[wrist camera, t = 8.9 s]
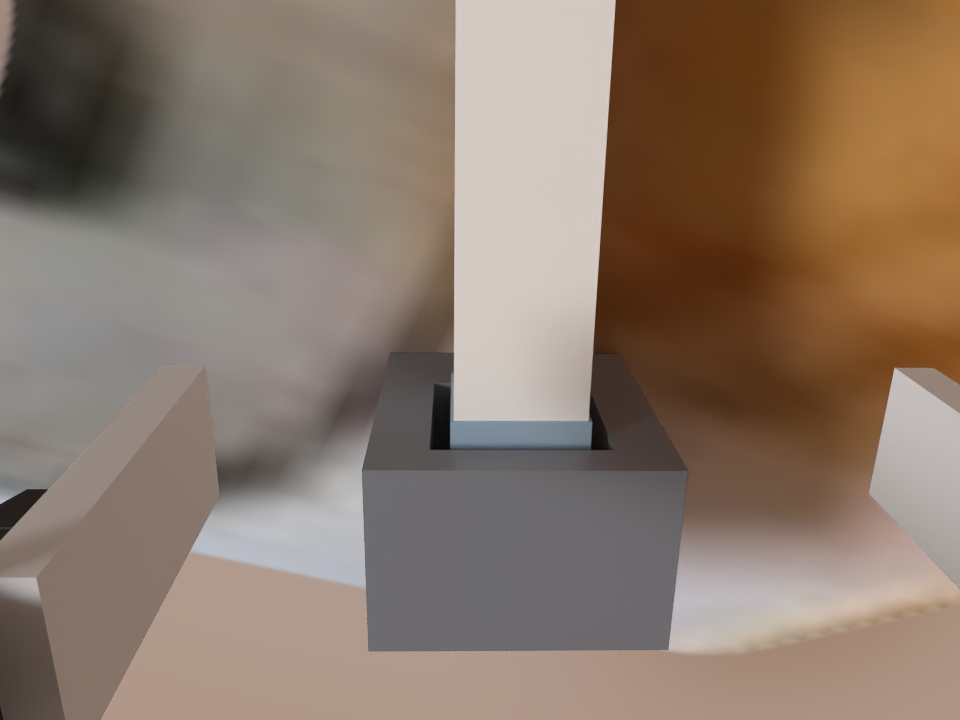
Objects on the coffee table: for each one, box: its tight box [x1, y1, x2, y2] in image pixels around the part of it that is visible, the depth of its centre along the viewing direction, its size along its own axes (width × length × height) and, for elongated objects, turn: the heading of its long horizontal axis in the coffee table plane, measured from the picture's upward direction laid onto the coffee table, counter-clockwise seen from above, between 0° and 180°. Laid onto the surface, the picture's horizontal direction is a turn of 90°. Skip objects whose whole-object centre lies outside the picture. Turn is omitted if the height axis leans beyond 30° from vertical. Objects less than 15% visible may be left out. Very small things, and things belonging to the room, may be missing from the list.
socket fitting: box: [362, 353, 688, 651], centre depth 28 cm, size 6×9×10 cm, turn 89°
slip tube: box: [450, 0, 616, 450], centre depth 24 cm, size 19×4×4 cm, turn 179°
